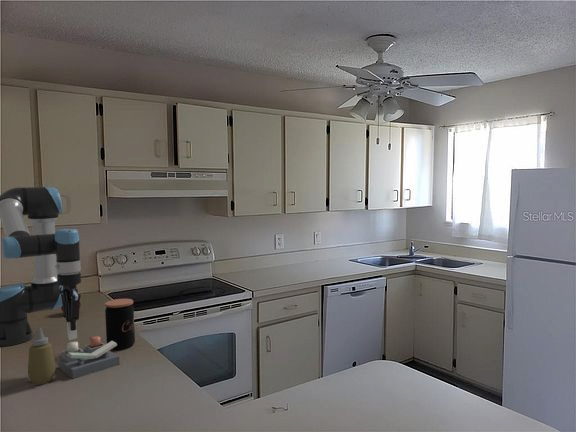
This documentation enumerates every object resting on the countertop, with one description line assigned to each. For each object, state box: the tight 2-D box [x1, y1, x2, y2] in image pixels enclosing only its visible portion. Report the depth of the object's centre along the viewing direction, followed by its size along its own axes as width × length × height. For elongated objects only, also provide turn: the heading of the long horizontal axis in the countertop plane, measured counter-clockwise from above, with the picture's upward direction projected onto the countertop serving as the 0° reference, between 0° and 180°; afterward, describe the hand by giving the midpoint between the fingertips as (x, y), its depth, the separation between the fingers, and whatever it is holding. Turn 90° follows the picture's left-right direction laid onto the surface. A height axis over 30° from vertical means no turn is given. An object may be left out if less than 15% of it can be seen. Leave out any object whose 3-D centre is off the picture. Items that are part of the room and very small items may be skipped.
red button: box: [89, 335, 102, 348], centre depth 162 cm, size 4×4×3 cm
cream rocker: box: [91, 341, 117, 358], centre depth 158 cm, size 4×8×2 cm, turn 136°
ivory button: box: [66, 341, 80, 354], centre depth 156 cm, size 4×4×3 cm
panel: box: [57, 341, 121, 379], centre depth 157 cm, size 14×16×6 cm
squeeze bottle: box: [27, 326, 56, 385], centre depth 144 cm, size 8×8×18 cm
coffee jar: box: [104, 298, 136, 351], centre depth 176 cm, size 11×11×18 cm
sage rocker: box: [67, 352, 95, 361], centre depth 152 cm, size 4×8×2 cm, turn 136°
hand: (72, 338), depth 156 cm, fingers closed
